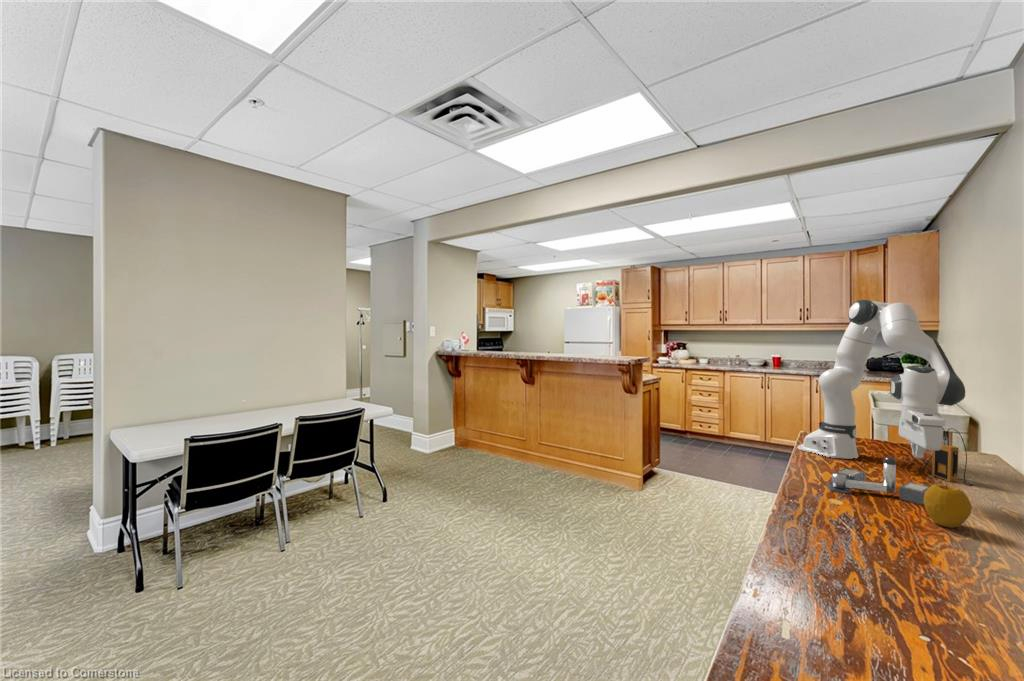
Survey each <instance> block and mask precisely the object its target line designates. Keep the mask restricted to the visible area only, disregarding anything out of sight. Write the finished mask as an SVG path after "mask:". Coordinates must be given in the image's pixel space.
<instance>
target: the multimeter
mask: <svg viewBox="0 0 1024 681" xmlns="http://www.w3.org/2000/svg"><path fill="white" fill-rule="evenodd" d="M941 427H942V429H943V441H942V447H941V449H940V450H939V451H937V450H932V455H931V456H930V458H929V459H928V461H927V462H926V464H925V466H924V467H923V472H924V473H925V472H926V471H925V470H926V468H927V465H928V463H929V462H930V461H931V472H932V473H931V475H932V476H933V477H935V476H936V477H935V478H938V479H941V480H945V481H947V482H951V483H952V482H953V483H955V482H958V479H959V480H962V481H963V482H964V485H966V486H969V487H972V486H973V482H975V480H973V479H970V480H969V479H968V478H966V471H967V462H968V455H967V454H968V453H967V448H966V444H965V441H964V438H963V437H962V435H961V433H960V432H959V431H958V430H957V429H955V428H948V429H947V430H945V429H944V426H941ZM951 430H954V431H956V432H957V433H958V434H959V436H960V438H961V441H962V444H963V447H964V450H965V451H964V452H965V466H964V473H963V474H964V475H963V477H958V475H959V474H958V471H959V468H958V467H959V447H958V446H956V445H952V444H949V440H948V439H949V438H948V435H949V434H948V433H949V431H951ZM945 435H946V436H945ZM966 481H968V483H969V484H966Z"/></svg>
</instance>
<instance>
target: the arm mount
mask: <svg viewBox="0 0 1024 681" xmlns="http://www.w3.org/2000/svg"><path fill="white" fill-rule="evenodd" d="M825 486H826V487H827V488H828V490H829V491H830V492H833V493H834V492H835V493H842V494H850V495H852V494H853V491H852V490H851V488H849V487H846V488H838V487H834V486H832V483H828V482H826V483H825Z"/></svg>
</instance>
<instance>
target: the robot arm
mask: <svg viewBox="0 0 1024 681" xmlns="http://www.w3.org/2000/svg"><path fill="white" fill-rule="evenodd" d="M847 317H848V320H849V321H850V323H849V324H848V326H847V327H846V329H845V331H844V333H843V335H842V337H841V339H840V343H839V345H838V346H837V350H836V351H835V355H836V356H835V362H834V365H833V368H829V369H827V370H826V371H824V372H822V374H820V376H819V378H818V384H819V387H820V389H821V394H822V398H823V406H824V408H823V409H824V410H823V413H824V414H823V420H822V421H820V422H818V423H817V427H818V428H817V429H816V430H814V431H813V432H810V433H808V434H807V435H805V437H804V439H803V443H801V444H799V445H798V446H797V450H799V451H804V452H807V453H810V452H812V453H811V454H814V453H816V454H815V455H818V454H819V455H818V456H822V455H823V456H822V457H825V456H826V458H829V457H831V458H830V459H847V460H849V459H850V460H852V459H853V458H855V459H859V458H858V457H860V456H859V454H858V450H857V443H856V436H857V425H856V406H855V404H854V400H853V394H852V393H853V392H852V391H855V390H856V389H858V388H859V387H860V385H861V384H862V381H863V380H862V378H863V375H864V372H865V367H866V363H867V361H868V357H869V355H870V353H871V351H872V349H873V346H874V344H875V343H876V340H877V337H878V335H879V333H880V332H881V335H882V339H883V342H884V344H885V345H886V346H888V347H889V348H891V349H892V350H895V351H898V352H900V353H904V354H905V353H906V354H910V355H913V356H917V357H919V358H922V359H924V360H926V361H927V362H928V364H929V365H930V366H926V365H908V366H906V367H904V370H903V373H901V374H897V375H894V376H893V377H892V378H891V379H890V390H889V392H890V393H889V394H890V395H891V396H893V397H894V398H895V399H897V401H898V400H899V401H902V402H901V404H900V406H901V408H900V418H899V421H898V436H899V437H901V438H903V439H905V440H907V441H909V442H910V447H911V450H912V453H911V454H912V456H913V457H916V458H918V459H923V458H924V454H925V452H926V450H929V451H933V450H937V451H939V450H940V449H941V447H942V443H943V439H944V430H943V428H942V427H946V421H945V419H944V418H943V417H942V416H941V414H940V412H939V406H938V405H941V406H948V407H949V406H951V407H952V406H955V405H957V404H958V403H961V402H962V401H963V400H964V399H965V397H966V387H965V384H964V383H963V381H962V379H961V378H960V377H959V376H958V375H957V373H956V371H955V369H954V368H953V366H952V365H951V362H950V361H949V359H948V357H947V355H946V353H945V351H944V349H943V348H942V346H941V344H940V343H939V342H938V341H937V339H935V338H933V337H930V336H929V335H928V334H926V333H925V332H924V331H923V329H922V328H921V325H920V321H919V318H918V316H917V314H916V312H915V310H914V309H913V306H911V305H910V304H908V303H905V302H894V303H889V302H882V301H874V300H870V299H857V300H856V301H854V302H853V303H852V304H851V306H850V307H849V309H848V314H847ZM941 426H942V427H941ZM853 460H854V459H853Z"/></svg>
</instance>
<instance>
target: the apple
mask: <svg viewBox="0 0 1024 681" xmlns="http://www.w3.org/2000/svg"><path fill="white" fill-rule="evenodd" d="M923 502H924V505H923V506H924V508H925V512H927V514H928V515H929V517H930V519H931V520H932V521H933V522H934V523H935V524H936V525H939V526H940V527H941V526H942V527H945V528H950V529H955V528H958V527H960V526H961V525H963V523H965V522H966V521H967V520H968V518H969V516H970V515H971V513H972V510H973V509H972V508H973V505H972V503H971V501H970V499H969V497H968V496H967V494H965V492H964V491H963V490H961V489H960V488H958V487H954V486H951V485H948V484H942V483H934V484H932V485H931V487H929V488H928V489H927V491H926V492H925V494H924V501H923Z"/></svg>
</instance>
